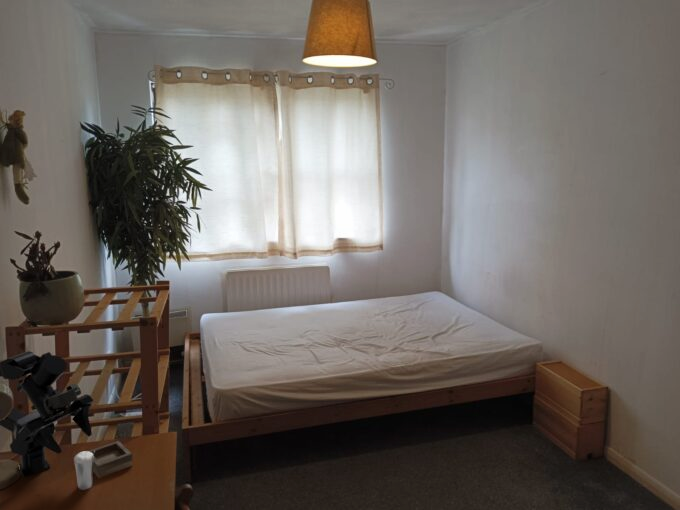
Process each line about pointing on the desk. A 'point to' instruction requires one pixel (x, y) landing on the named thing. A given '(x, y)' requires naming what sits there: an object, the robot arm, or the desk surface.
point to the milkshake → (84, 469)
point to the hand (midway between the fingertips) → (76, 443)
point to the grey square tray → (110, 459)
